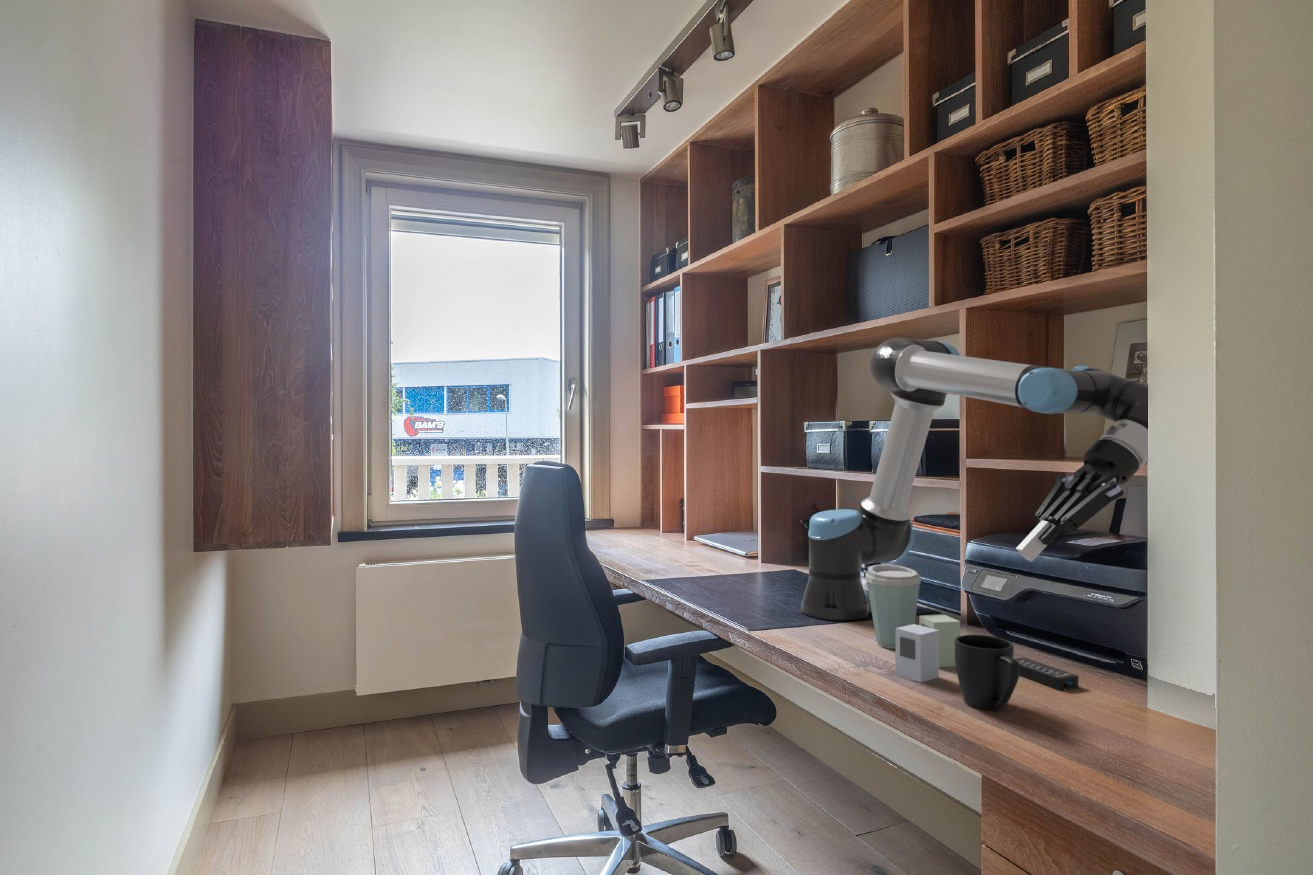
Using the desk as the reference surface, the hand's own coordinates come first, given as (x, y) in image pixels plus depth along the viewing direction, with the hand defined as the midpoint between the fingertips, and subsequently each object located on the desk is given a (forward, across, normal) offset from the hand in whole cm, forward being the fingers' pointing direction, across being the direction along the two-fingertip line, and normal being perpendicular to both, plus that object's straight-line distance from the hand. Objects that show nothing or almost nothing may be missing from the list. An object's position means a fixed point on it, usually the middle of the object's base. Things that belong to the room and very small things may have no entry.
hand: (1023, 554), depth 119 cm
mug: (+23, +8, +8) cm, 25 cm away
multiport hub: (+12, -3, +20) cm, 23 cm away
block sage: (+20, -14, +11) cm, 27 cm away
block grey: (+25, -7, +6) cm, 27 cm away
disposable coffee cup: (+23, -25, +9) cm, 35 cm away
